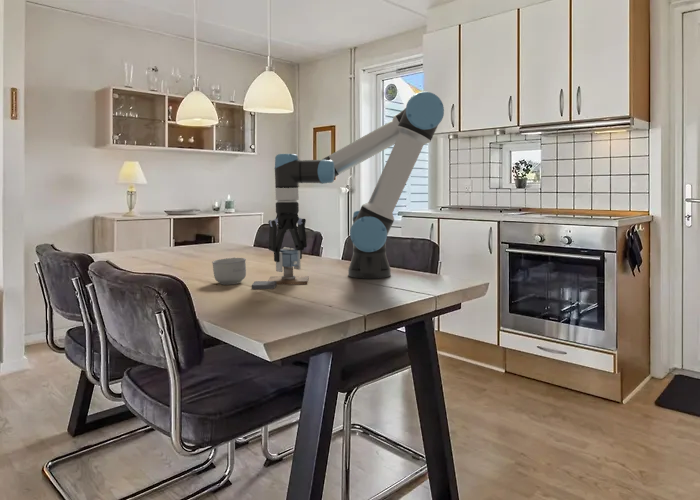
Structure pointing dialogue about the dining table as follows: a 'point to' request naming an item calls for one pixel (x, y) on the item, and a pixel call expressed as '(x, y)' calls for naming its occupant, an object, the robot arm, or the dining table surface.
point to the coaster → (264, 285)
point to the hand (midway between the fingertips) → (288, 270)
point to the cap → (289, 257)
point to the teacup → (229, 270)
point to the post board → (289, 278)
